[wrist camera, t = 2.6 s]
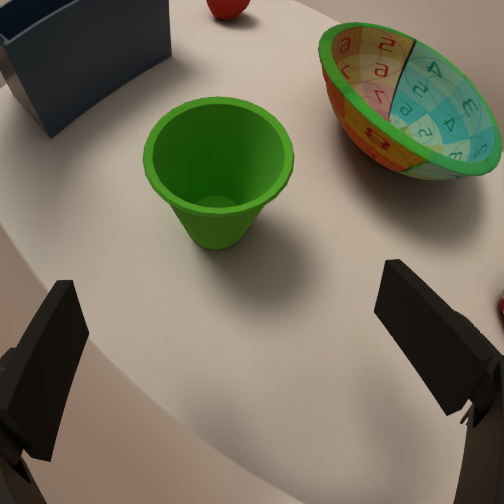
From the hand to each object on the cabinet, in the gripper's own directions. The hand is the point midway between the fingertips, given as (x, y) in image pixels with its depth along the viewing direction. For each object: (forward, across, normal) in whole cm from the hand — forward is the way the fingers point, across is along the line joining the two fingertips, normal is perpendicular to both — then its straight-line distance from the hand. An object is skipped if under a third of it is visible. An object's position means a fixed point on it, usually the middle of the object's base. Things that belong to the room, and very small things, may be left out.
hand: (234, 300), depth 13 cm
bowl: (+24, +20, +5) cm, 32 cm away
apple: (+43, +2, +23) cm, 49 cm away
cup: (+16, 0, -3) cm, 17 cm away
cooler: (+34, -18, +15) cm, 41 cm away
